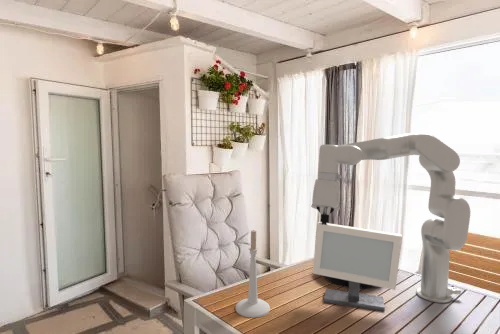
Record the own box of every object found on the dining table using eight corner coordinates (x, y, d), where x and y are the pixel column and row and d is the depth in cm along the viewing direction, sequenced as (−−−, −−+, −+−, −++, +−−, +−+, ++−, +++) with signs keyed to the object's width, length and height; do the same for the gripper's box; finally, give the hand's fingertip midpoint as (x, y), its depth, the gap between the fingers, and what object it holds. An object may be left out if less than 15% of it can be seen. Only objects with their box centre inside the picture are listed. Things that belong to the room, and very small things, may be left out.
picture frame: (394, 286, 123) (401, 234, 121) (395, 289, 120) (402, 236, 118) (313, 270, 132) (318, 221, 130) (312, 273, 129) (317, 223, 127)
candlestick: (273, 303, 128) (274, 226, 126) (265, 320, 116) (266, 236, 113) (241, 298, 132) (242, 224, 129) (230, 314, 119) (231, 232, 117)
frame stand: (382, 300, 131) (385, 243, 129) (384, 311, 123) (387, 250, 121) (325, 292, 138) (327, 238, 136) (324, 302, 129) (325, 244, 127)
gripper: (348, 177, 128) (344, 224, 129) (309, 174, 132) (306, 219, 134) (347, 179, 121) (344, 228, 122) (306, 176, 125) (303, 223, 126)
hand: (324, 224), depth 128 cm, fingers closed
